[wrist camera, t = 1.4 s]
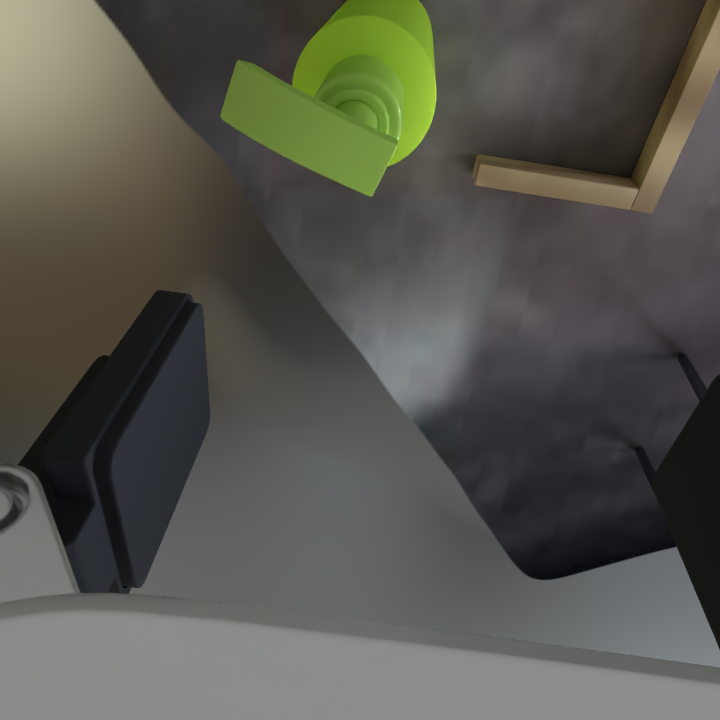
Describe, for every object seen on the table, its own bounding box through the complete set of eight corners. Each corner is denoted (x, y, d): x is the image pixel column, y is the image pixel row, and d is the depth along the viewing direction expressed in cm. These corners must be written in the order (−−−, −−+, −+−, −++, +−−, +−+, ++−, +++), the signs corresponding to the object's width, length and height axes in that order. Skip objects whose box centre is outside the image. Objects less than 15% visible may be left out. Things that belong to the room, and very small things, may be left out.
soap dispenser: (340, -49, 31) (254, -13, 15) (451, 16, 33) (477, 110, 17) (301, 59, 35) (197, 179, 19) (403, 113, 36) (386, 268, 20)
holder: (538, -90, 29) (545, -91, 28) (758, -54, 29) (776, -53, 28) (471, 174, 38) (474, 185, 36) (642, 201, 38) (652, 213, 36)
